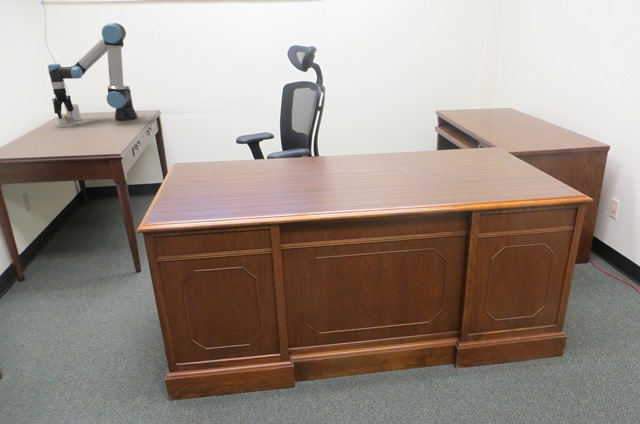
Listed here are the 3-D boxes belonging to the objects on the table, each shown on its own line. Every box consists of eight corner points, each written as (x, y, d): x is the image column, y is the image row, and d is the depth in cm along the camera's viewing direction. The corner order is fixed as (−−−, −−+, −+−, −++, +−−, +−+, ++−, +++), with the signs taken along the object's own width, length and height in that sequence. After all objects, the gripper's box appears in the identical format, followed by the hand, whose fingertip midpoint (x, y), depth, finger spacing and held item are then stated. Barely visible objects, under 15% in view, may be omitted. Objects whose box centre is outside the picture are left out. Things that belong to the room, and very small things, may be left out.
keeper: (77, 123, 324) (75, 114, 321) (68, 126, 316) (65, 117, 313) (67, 123, 326) (65, 114, 323) (57, 126, 318) (55, 116, 315)
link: (74, 121, 322) (73, 117, 321) (66, 123, 316) (65, 119, 315) (66, 121, 324) (65, 116, 323) (58, 123, 318) (57, 118, 317)
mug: (82, 117, 344) (79, 103, 340) (80, 120, 334) (77, 105, 330) (69, 118, 342) (66, 103, 337) (67, 121, 331) (63, 106, 327)
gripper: (65, 85, 321) (73, 118, 330) (42, 90, 303) (51, 124, 312) (74, 86, 319) (81, 119, 328) (51, 90, 301) (60, 125, 310)
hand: (66, 122), depth 320 cm, fingers closed on link, 7 cm apart
